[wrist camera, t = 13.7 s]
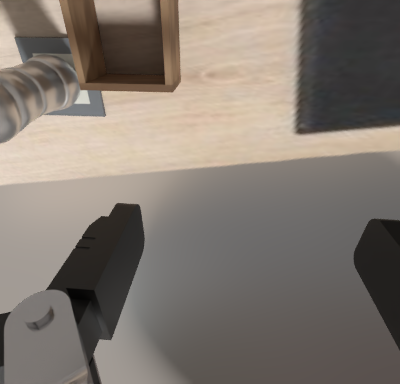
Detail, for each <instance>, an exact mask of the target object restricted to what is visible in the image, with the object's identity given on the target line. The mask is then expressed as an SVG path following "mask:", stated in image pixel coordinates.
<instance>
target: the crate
mask: <svg viewBox="0 0 400 384" xmlns="http://www.w3.org/2000/svg"><path fill="white" fill-rule="evenodd" d="M59 1H60V6H61V10H62V14H63V18H64V22H65V27H66V31H67V35H68V39H69V44H70V48H71V52H72V56H73V60H74V65H75V69H76V73H77V77H78V82H79V86H80V90H96V91H139V92H173V91H174V90H175V89H176V87H177V86H178V85H179V83H180V82H181V75H180V45H179V15H178V0H160V8H161V23H162V39H163V55H164V70H165V75H141V74H107V72H106V67H105V61H104V56H103V50H102V44H101V39H100V33H99V27H98V22H97V16H96V11H95V5H94V0H59Z"/></svg>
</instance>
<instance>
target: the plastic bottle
mask: <svg viewBox="0 0 400 384" xmlns="http://www.w3.org/2000/svg"><path fill="white" fill-rule="evenodd" d="M80 92H81V90H80V86H79V82H78V77H77V74H76V72H75V70H74V69H73V67H72V66H71V65H70V64H69V63H68V62H66V61H65V60H64V59H62V58H60V57H58V56H54V55H47V54H40V55H37V56H34V57H32V58H30V59H28V60H27V61H26V62H24V63H22V64H19V65H17V66H14V67H11V68H4V69H0V144H1V143H5V142H7V141H9V140H10V139H12V138H13V137H15V136H16V135H17V134H18V133H19V132H20V131H22V130H23V129H24V128H25V127H26V126H27V125H28V124H29V123H31V122H32V121H34V120H35V119H37V118H38V117H40V116H42V115H44V114H47V113H50V112H52V111H58V110H62V109H66V108H69V107H70V106H72V105H73V104H74V103H75V101H76V100H77V99H78V97H79V96H80Z"/></svg>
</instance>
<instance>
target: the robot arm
mask: <svg viewBox="0 0 400 384" xmlns="http://www.w3.org/2000/svg"><path fill="white" fill-rule="evenodd" d="M144 239H145V238H144V230H143V223H142V215H141V210H140V206H139V205H138V204H124V203H117V204H116V205H115V207H114V208H113V210H112V212H111V213H110V215H109V217H105V216H101V217H100V218H99V219H97V220H96V221H95V222H93V223H92V224H91V225H89V227H88V228H87V230H86V231H85V233H84V234H83V236H82V239H80V240H79V242H78V243H77V245H76V248H75V249H73V251H72V252H71V254H70V256H69V257H68V259H67V260H66V261H65V263H64V264H63V266H62V267H61V269H60V270H59V272H58V273H57V275H56V276H55V278H54V279H53V281H52V282H51V284H50V285H49V287H48V288H47V289H46V290H45V291H41V292H38V293H36V294H33V295H31V296H30V297H28V298H26V299H25V300H23V301H22V302H21V303H19V304H18V305H17V306H16V307H15V308H14V309H13V311H12V312H8V313H4V314H0V384H102V383H101V379H100V376H99V372H98V368H97V365H96V361H95V357H94V355H93V353H94V351H95V348H96V346H97V343H98V341H99V339H104V340H111V339H112V337H113V334H114V331H115V328H116V325H117V323H118V320H119V317H120V314H121V311H122V309H123V306H124V303H125V300H126V298H127V295H128V292H129V289H130V286H131V284H132V281H133V278H134V275H135V272H136V270H137V267H138V264H139V261H140V259H141V256H142V253H143V249H144ZM354 265H355V268H356V270H357V272H358V273H359V275H360V277H361V279H362V281H363V283H364V285H365V286H366V288H367V290H368V292H369V294H370V296H371V298H372V299H373V301H374V303H375V305H376V307H377V309H378V311H379V313H380V314H381V316H382V318H383V320H384V322H385V324H386V326H387V328H388V329H389V331H390V333H391V335H392V337H393V339H394V340H395V342H396V344H397V346H398V348H399V350H400V221H399V220H388V219H371V220H370V221H369V222H368V224H367V226H366V228H365V230H364V232H363V234H362V236H361V238H360V241H359V243H358V245H357V247H356V249H355V251H354Z"/></svg>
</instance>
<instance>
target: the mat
mask: <svg viewBox="0 0 400 384" xmlns="http://www.w3.org/2000/svg"><path fill="white" fill-rule="evenodd" d="M15 41H16V44H17V47H18V50H19V53H20V56H21V59H22V62H23V63H24V62H26V61H27V60H28V59H30V58H32V57H34V56H37V55H40V54H47V55H54V56H58V57H60V58H62V59H64V60H65V61H66V62H68V63H69V64H70V65H71V66H72V67H73V69H74V70H75V72H76V69H75V65H74V60H73V56H72V52H71V48H70V44H69V39H68V38H27V37H15ZM76 74H77V73H76ZM44 115H68V116H102V117H105V116H106V114H105V109H104V104H103V99H102V94H101V91H96V90H81V92H80V96H79V97H78V99H77V100H76V101H75V103H74V104H73V105H72V106H70V107H69V108H66V109H62V110H58V111H52V112H50V113H47V114H44Z"/></svg>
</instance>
